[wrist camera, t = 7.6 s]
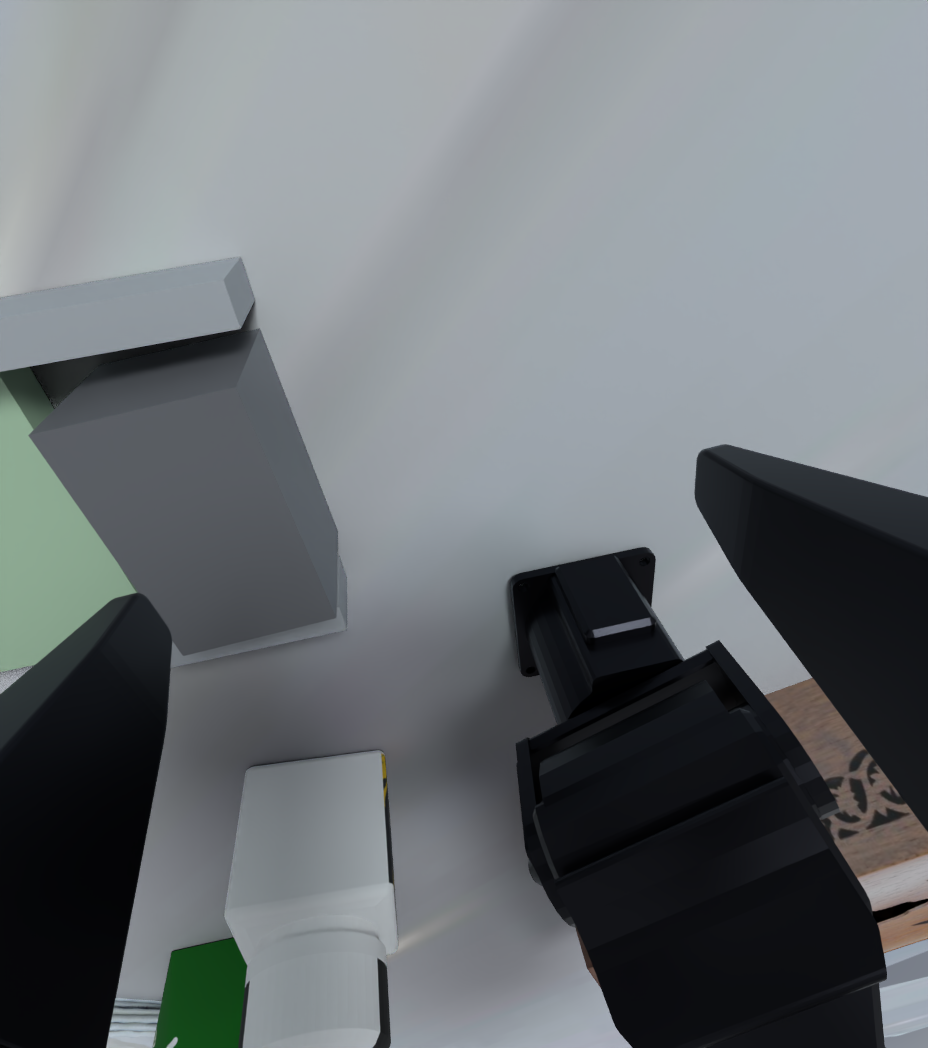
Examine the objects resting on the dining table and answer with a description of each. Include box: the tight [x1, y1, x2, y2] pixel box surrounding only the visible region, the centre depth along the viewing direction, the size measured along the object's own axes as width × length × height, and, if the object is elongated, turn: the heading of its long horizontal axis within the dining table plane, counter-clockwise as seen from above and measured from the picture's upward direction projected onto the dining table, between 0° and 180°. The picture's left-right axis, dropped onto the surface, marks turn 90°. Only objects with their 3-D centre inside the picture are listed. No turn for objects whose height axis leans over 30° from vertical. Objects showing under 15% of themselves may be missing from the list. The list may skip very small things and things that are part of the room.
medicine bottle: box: [224, 750, 398, 1048], centre depth 27 cm, size 7×7×12 cm
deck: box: [0, 257, 347, 672], centre depth 18 cm, size 12×15×3 cm
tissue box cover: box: [575, 678, 928, 986], centre depth 35 cm, size 26×14×10 cm, turn 109°
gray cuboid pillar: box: [28, 329, 338, 656], centre depth 18 cm, size 8×5×5 cm, turn 10°
